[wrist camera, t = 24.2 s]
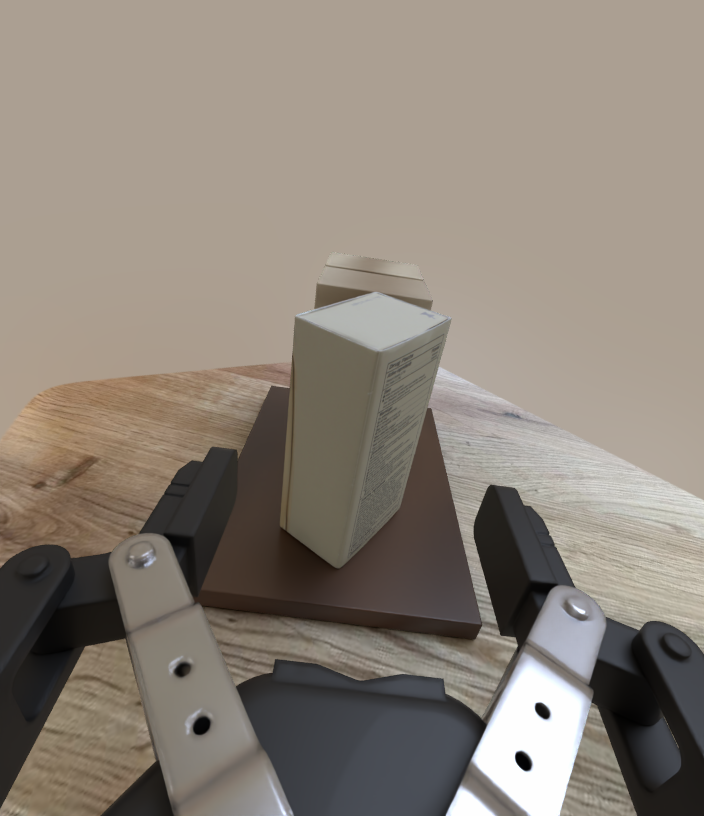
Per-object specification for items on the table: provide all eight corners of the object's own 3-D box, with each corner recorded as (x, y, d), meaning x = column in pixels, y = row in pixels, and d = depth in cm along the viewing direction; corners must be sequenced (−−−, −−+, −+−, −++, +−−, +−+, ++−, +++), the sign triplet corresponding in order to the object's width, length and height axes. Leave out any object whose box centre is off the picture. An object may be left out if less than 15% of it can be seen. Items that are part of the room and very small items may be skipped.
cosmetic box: (345, 476, 27) (376, 289, 21) (403, 511, 25) (456, 315, 19) (274, 529, 23) (288, 310, 17) (339, 577, 21) (382, 348, 15)
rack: (181, 603, 20) (153, 339, 13) (270, 397, 37) (278, 238, 30) (475, 640, 20) (592, 402, 14) (428, 419, 38) (469, 267, 31)
